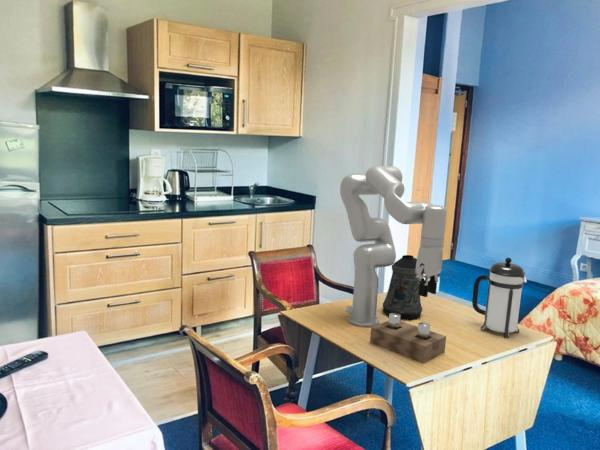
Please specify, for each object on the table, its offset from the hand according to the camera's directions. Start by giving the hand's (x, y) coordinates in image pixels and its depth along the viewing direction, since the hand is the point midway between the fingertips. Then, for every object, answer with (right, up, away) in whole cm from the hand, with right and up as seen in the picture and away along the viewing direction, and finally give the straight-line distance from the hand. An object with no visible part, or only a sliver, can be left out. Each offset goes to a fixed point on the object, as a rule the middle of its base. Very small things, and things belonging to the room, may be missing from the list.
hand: (427, 293), depth 174 cm
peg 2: (-1, -17, +3) cm, 17 cm away
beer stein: (0, -14, +45) cm, 47 cm away
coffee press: (+35, -19, +29) cm, 49 cm away
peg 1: (-9, -15, +11) cm, 21 cm away
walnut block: (-5, -20, +8) cm, 22 cm away
